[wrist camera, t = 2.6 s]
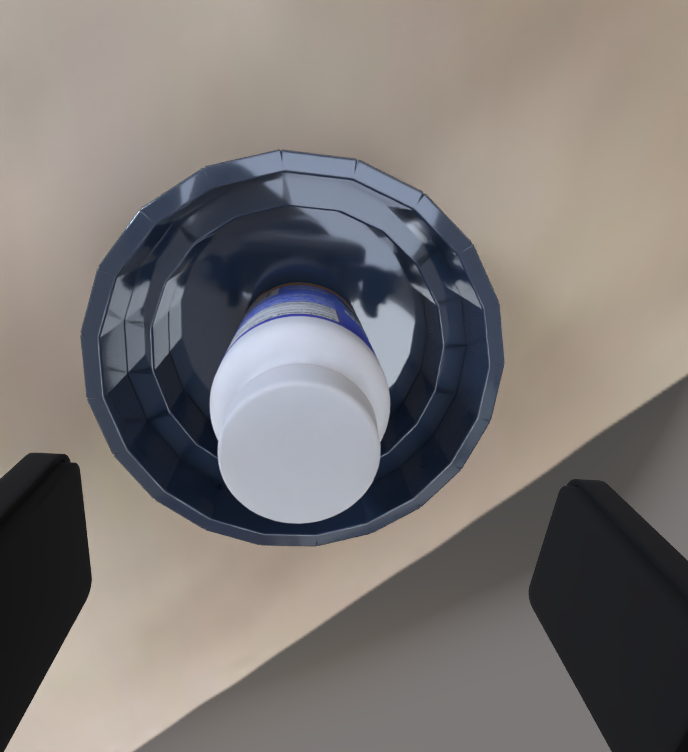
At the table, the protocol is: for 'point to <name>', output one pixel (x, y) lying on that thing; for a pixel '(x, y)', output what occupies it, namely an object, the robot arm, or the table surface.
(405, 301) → the bowl
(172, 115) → the table surface
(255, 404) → the pill bottle
